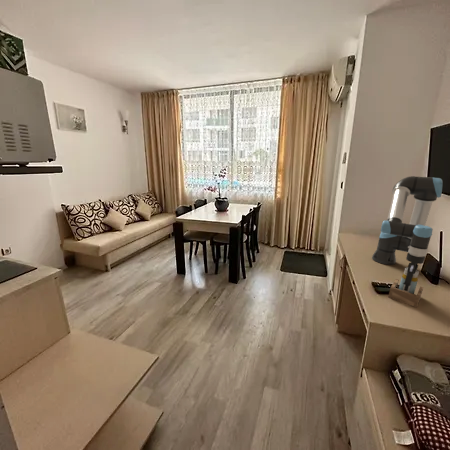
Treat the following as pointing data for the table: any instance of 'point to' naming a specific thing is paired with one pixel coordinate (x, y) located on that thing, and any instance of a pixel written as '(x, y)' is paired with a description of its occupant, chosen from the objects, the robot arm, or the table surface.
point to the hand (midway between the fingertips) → (405, 292)
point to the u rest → (404, 295)
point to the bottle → (413, 282)
